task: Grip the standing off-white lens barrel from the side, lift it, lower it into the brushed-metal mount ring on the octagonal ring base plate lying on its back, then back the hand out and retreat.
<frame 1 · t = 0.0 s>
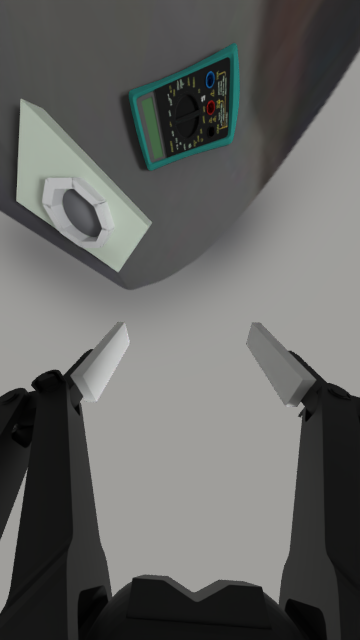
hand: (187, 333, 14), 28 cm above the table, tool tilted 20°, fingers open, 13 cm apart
octagonal ring base plate: (95, 210, 29), on the table
digital multimeter: (184, 123, 21), on the table
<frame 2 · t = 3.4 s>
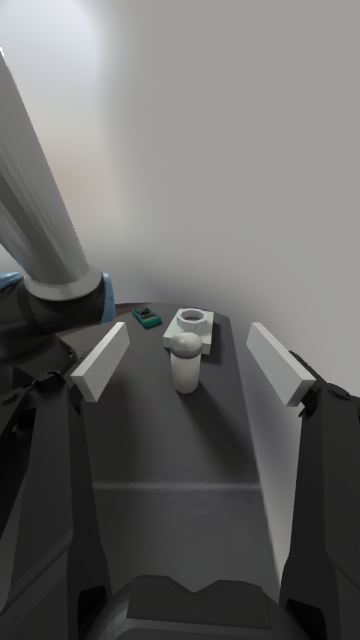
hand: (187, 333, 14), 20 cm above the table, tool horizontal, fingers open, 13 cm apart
lens: (185, 381, 32), on the table
octagonal ring base plate: (191, 332, 49), on the table
digital multimeter: (146, 319, 58), on the table
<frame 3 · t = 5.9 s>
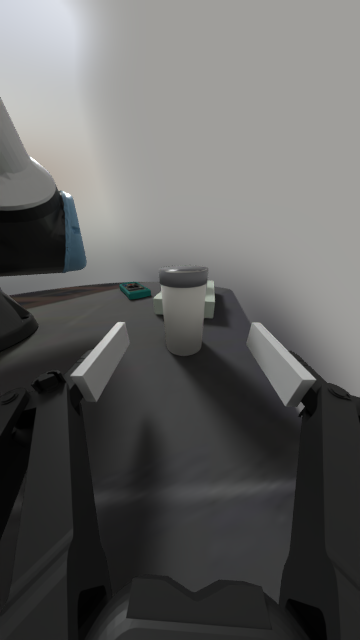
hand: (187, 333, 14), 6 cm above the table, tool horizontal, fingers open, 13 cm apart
lens: (183, 343, 23), on the table
octagonal ring base plate: (188, 301, 40), on the table
digital multimeter: (135, 294, 49), on the table
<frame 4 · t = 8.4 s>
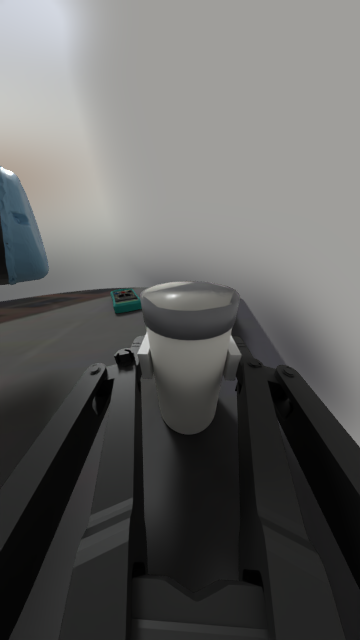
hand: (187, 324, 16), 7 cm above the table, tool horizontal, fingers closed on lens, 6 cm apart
lens: (187, 400, 14), on the table, touching gripper
digital multimeter: (126, 304, 41), on the table
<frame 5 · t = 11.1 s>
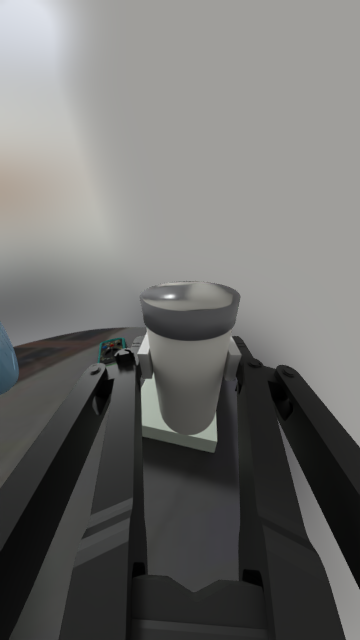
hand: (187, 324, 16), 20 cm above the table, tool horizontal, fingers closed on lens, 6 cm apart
lens: (187, 400, 14), point 13 cm above the table, touching gripper
octagonal ring base plate: (180, 387, 30), on the table
digital multimeter: (114, 360, 39), on the table
when the fingers open (12 cm above the table, at t = 14.2 s): lens drops 1 cm, resting on octagonal ring base plate.
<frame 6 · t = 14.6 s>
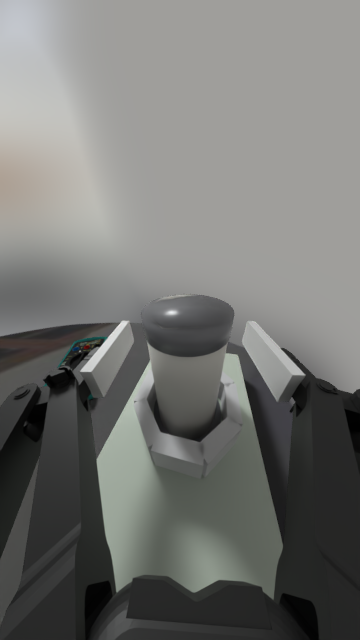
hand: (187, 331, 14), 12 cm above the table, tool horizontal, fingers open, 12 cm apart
lens: (186, 406, 15), point 4 cm above the table, touching octagonal ring base plate
octagonal ring base plate: (186, 425, 17), on the table
digital multimeter: (85, 370, 26), on the table
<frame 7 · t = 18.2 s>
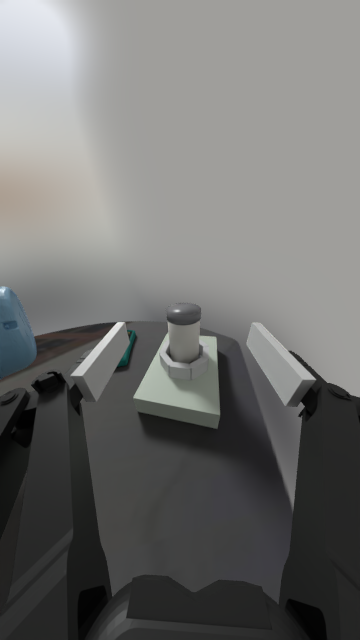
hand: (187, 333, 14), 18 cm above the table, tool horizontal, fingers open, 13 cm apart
lens: (184, 359, 29), point 4 cm above the table, touching octagonal ring base plate
octagonal ring base plate: (185, 372, 31), on the table
digital multimeter: (120, 350, 40), on the table
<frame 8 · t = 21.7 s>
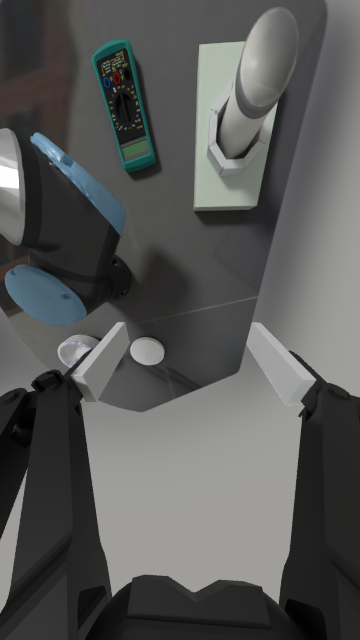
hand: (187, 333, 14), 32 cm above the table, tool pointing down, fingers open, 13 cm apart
lens: (233, 138, 25), point 4 cm above the table, touching octagonal ring base plate
octagonal ring base plate: (227, 152, 29), on the table
digital multimeter: (130, 123, 28), on the table
paper bowls: (91, 344, 57), on the table
plastic lid: (148, 348, 58), on the table
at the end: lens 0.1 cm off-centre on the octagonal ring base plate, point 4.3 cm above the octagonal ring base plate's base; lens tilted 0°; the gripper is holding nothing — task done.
